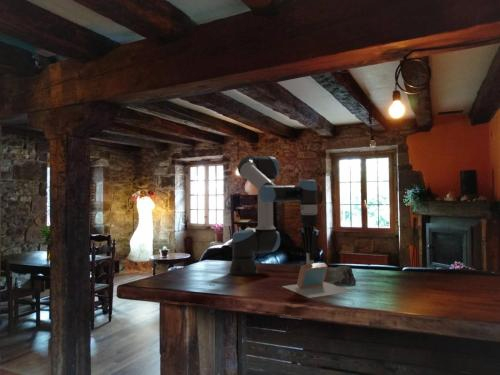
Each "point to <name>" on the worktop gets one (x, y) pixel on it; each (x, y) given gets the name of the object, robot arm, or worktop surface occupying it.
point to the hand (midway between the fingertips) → (310, 267)
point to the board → (318, 290)
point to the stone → (345, 275)
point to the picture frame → (312, 275)
